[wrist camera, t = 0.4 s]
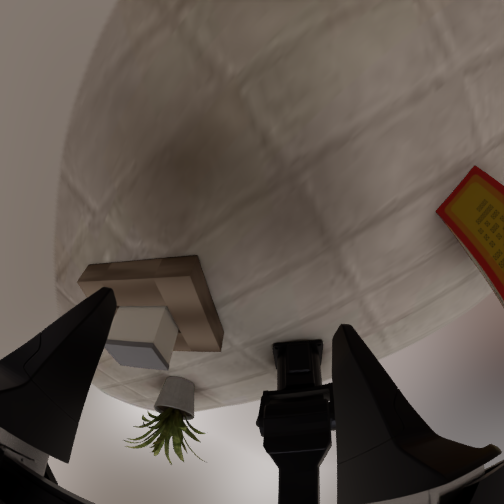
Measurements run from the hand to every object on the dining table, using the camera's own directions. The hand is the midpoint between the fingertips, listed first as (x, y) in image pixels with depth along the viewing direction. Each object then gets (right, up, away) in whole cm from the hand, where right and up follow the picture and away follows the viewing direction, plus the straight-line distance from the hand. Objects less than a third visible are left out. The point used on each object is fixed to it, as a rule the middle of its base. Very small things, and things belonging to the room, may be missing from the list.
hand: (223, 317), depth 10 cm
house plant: (-13, -20, +33) cm, 41 cm away
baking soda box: (+24, +6, +11) cm, 27 cm away
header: (-10, -3, +20) cm, 23 cm away
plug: (-10, -3, +20) cm, 23 cm away
